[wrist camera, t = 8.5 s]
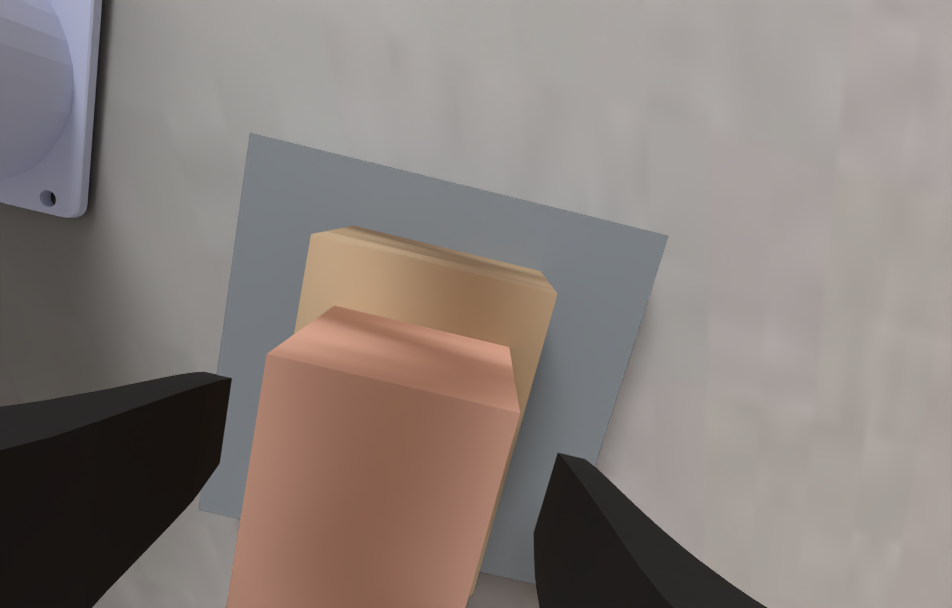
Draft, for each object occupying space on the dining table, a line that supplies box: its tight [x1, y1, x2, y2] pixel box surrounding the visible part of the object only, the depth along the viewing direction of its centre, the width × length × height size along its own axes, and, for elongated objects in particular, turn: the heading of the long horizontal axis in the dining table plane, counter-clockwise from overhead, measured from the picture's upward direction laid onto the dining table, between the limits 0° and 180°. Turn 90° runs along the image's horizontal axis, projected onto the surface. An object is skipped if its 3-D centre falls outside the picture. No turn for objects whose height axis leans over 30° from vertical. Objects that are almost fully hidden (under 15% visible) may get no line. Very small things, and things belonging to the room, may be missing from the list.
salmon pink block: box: [226, 306, 520, 608], centre depth 10 cm, size 4×5×4 cm
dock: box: [199, 133, 668, 584], centre depth 16 cm, size 12×12×2 cm
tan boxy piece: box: [294, 226, 557, 596], centre depth 13 cm, size 6×8×4 cm
